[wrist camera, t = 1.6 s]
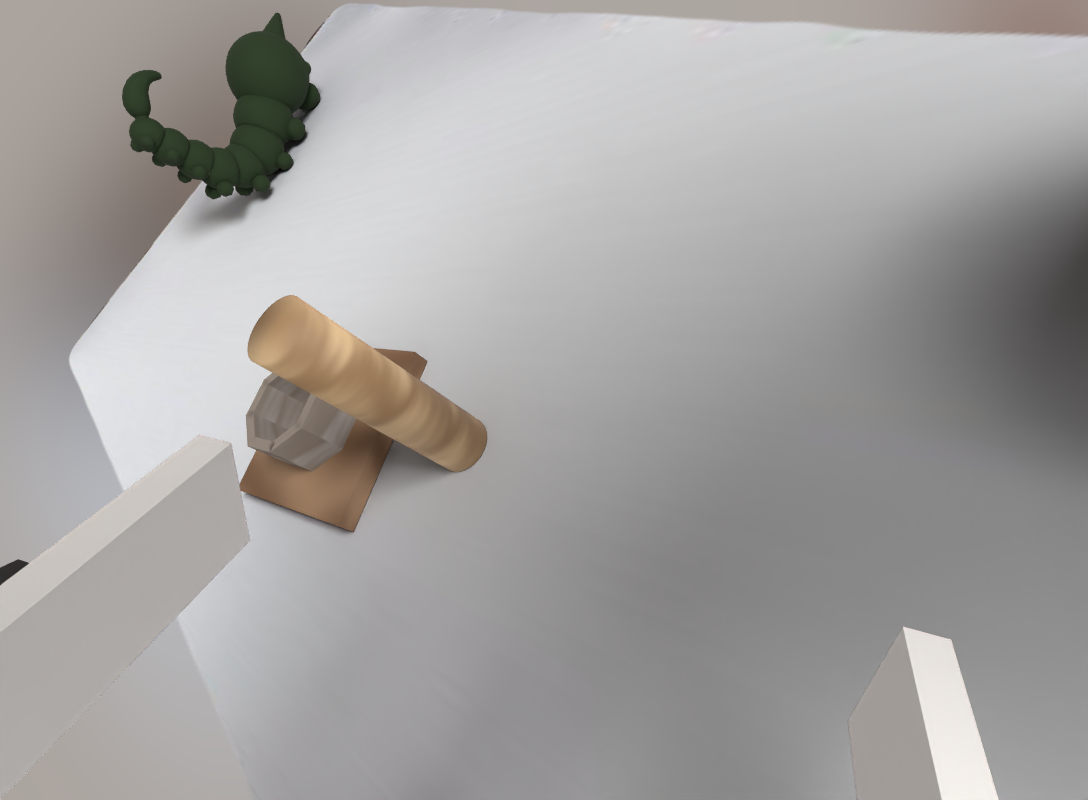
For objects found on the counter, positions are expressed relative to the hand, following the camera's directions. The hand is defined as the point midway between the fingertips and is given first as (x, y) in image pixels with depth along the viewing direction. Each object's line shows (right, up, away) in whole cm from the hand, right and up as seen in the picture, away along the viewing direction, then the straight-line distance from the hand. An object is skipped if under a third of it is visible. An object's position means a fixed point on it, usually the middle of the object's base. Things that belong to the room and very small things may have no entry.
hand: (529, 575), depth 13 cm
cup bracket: (-17, +1, +41) cm, 44 cm away
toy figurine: (-32, +36, +72) cm, 86 cm away
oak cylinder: (-5, 0, +33) cm, 33 cm away
